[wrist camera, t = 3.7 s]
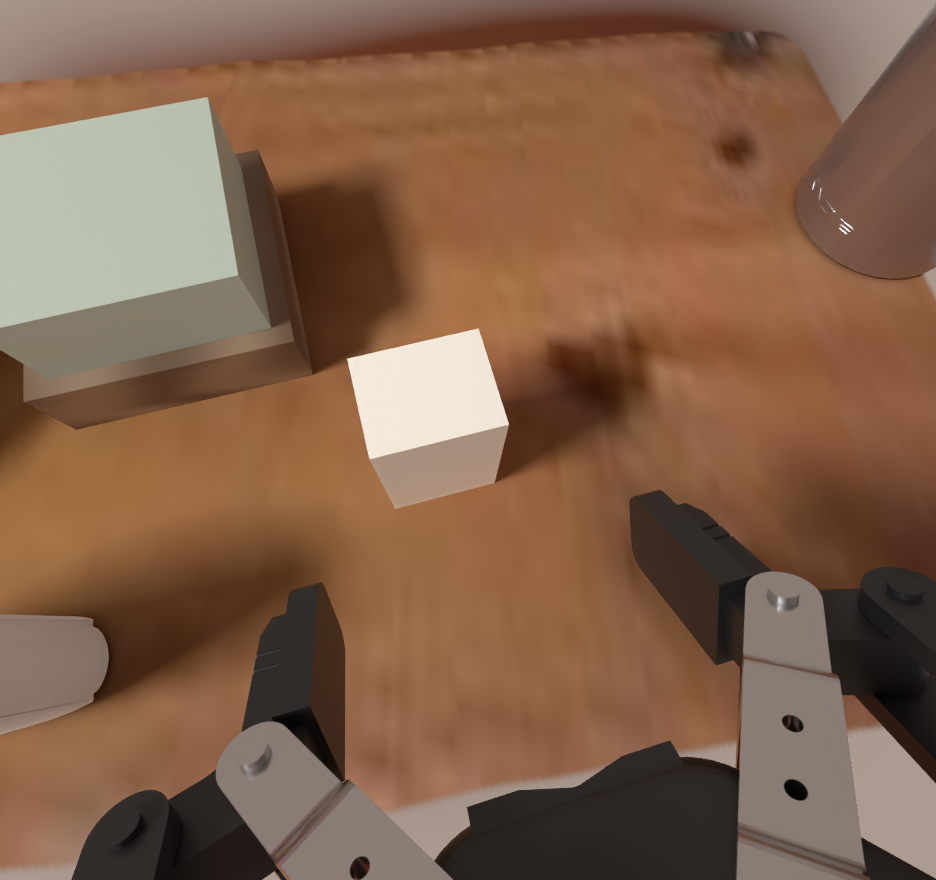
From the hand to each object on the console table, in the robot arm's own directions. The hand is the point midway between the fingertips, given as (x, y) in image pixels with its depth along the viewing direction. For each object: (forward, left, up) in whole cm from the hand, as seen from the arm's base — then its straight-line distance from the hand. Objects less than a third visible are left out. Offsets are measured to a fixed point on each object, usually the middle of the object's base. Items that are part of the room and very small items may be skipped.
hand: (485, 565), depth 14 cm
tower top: (+11, -19, -8) cm, 23 cm away
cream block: (0, -7, -12) cm, 14 cm away
